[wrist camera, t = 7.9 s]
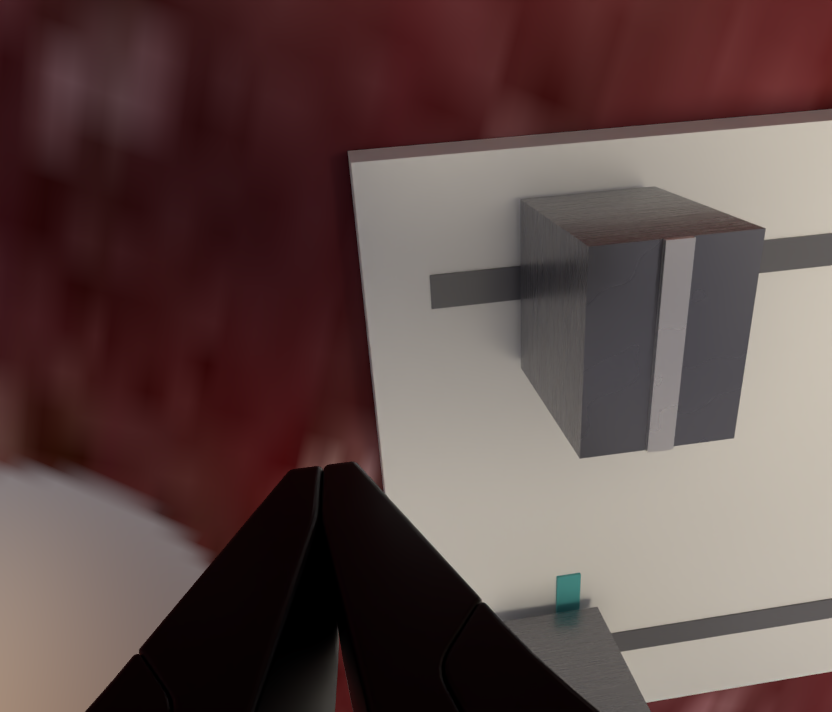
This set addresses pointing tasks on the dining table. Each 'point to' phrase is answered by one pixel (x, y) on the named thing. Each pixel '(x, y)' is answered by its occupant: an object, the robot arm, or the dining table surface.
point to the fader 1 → (636, 316)
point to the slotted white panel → (626, 472)
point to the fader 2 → (583, 657)
